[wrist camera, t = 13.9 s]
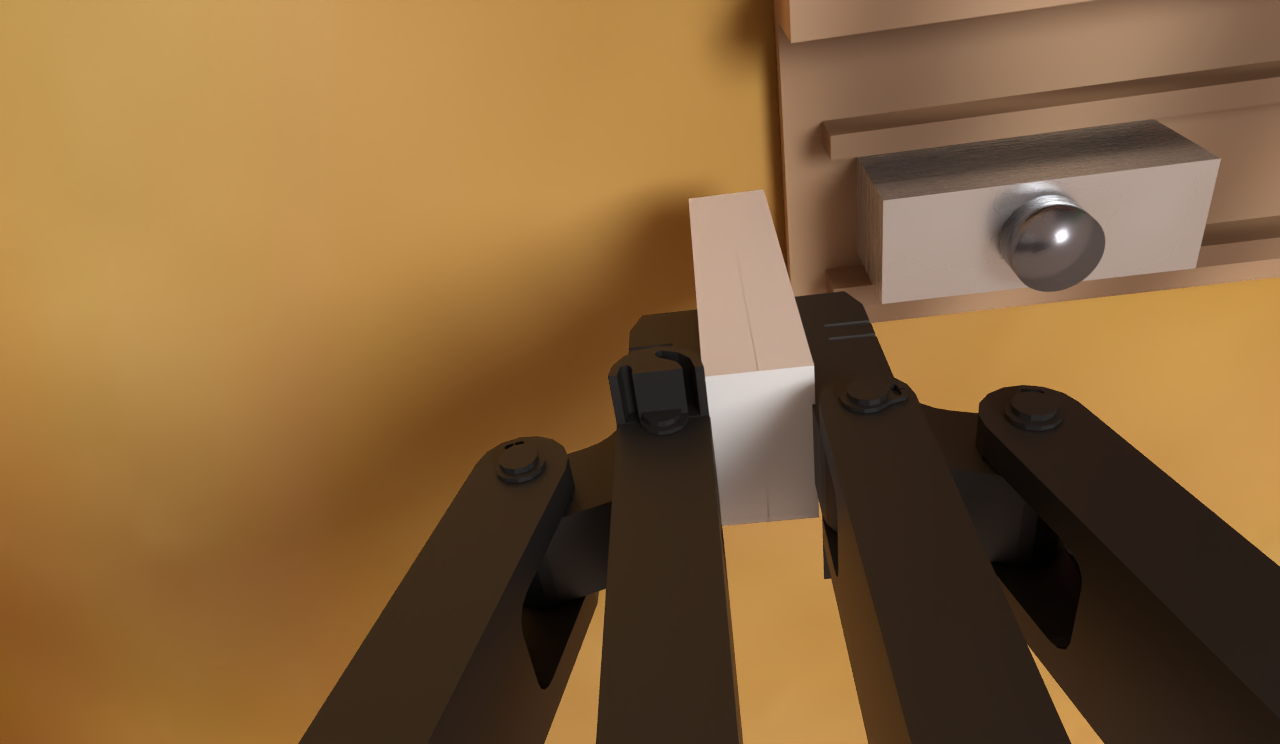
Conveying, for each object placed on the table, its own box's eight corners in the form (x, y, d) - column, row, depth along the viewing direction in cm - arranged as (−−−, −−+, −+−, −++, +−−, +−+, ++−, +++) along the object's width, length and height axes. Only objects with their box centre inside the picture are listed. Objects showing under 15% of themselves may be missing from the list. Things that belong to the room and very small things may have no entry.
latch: (857, 251, 19) (890, 324, 16) (856, 156, 18) (893, 217, 15) (1134, 217, 19) (1218, 287, 16) (1153, 117, 17) (1246, 173, 15)
